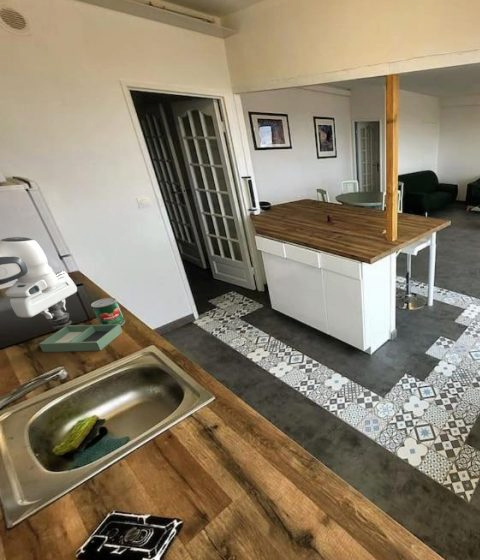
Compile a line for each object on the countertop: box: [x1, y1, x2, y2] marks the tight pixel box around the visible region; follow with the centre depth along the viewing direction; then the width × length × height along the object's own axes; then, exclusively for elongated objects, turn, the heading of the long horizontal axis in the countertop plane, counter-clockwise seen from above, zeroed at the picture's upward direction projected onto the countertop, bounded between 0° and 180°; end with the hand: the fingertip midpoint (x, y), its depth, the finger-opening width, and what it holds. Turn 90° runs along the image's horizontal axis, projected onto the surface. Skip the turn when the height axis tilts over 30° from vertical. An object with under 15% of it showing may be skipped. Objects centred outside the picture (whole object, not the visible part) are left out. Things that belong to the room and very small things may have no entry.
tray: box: [38, 324, 123, 353], centre depth 120 cm, size 12×20×4 cm, turn 95°
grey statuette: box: [46, 303, 73, 330], centre depth 114 cm, size 6×6×12 cm
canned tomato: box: [90, 297, 126, 326], centre depth 129 cm, size 8×8×11 cm
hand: (56, 314), depth 115 cm, fingers closed on grey statuette, 3 cm apart
